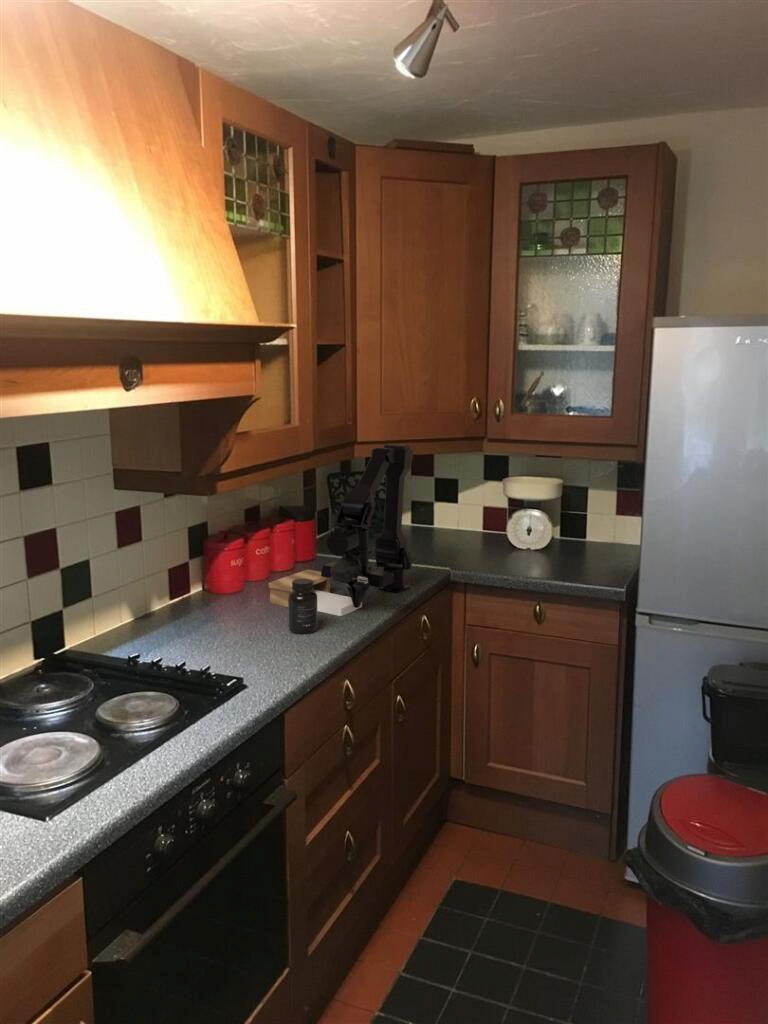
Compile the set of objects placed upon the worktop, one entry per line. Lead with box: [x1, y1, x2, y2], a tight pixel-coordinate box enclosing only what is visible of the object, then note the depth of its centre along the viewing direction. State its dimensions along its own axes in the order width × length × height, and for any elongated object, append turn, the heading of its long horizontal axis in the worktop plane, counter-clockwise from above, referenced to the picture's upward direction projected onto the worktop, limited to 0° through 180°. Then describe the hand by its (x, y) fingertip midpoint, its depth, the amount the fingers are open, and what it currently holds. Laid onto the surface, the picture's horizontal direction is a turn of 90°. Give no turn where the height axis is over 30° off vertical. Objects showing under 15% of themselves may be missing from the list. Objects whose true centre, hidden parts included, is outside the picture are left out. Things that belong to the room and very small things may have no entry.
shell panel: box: [312, 589, 363, 617], centre depth 221 cm, size 9×16×2 cm, turn 57°
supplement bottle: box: [287, 578, 319, 635], centre depth 202 cm, size 7×7×12 cm
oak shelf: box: [268, 569, 332, 608], centre depth 227 cm, size 16×8×6 cm, turn 147°
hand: (356, 607), depth 217 cm, fingers closed
